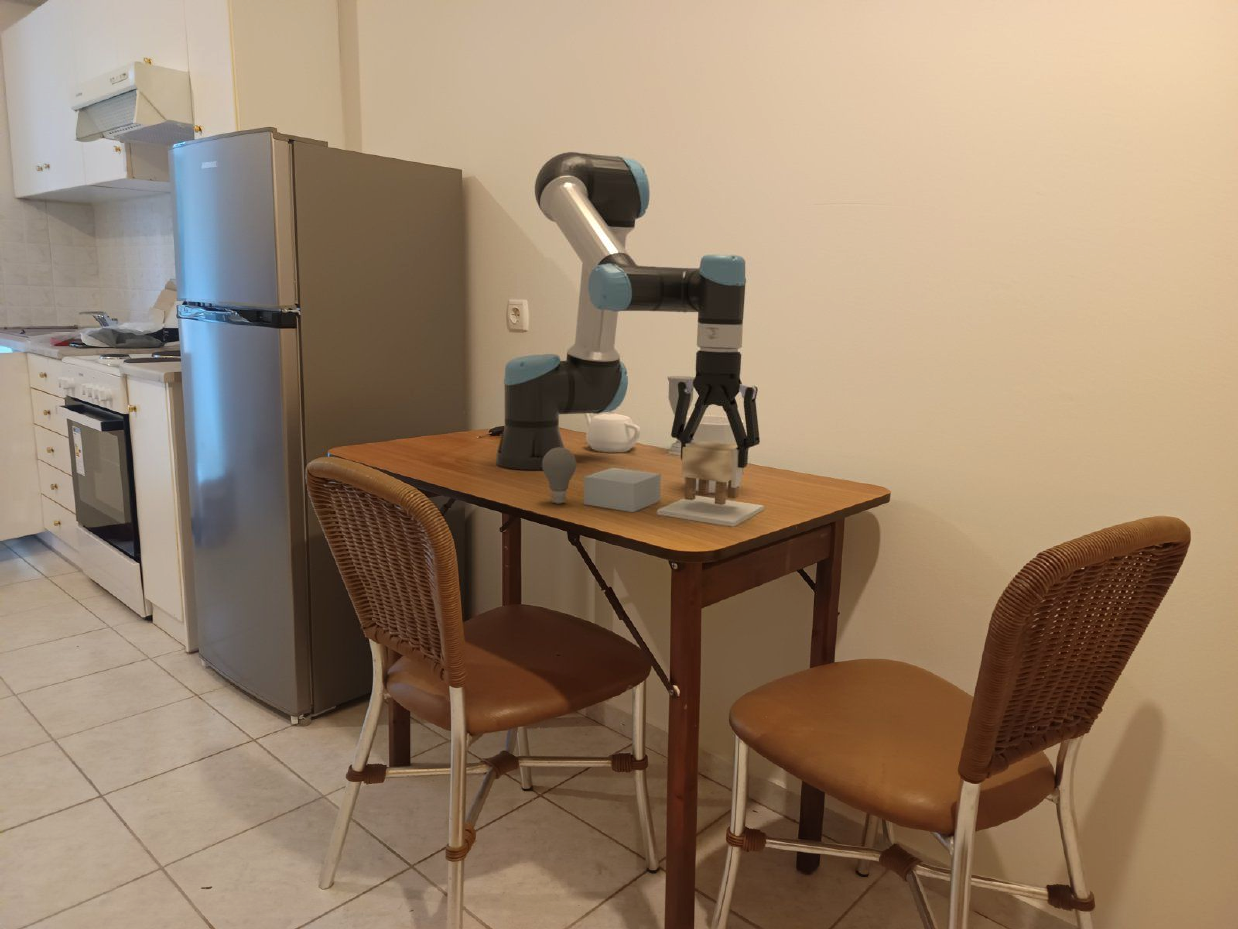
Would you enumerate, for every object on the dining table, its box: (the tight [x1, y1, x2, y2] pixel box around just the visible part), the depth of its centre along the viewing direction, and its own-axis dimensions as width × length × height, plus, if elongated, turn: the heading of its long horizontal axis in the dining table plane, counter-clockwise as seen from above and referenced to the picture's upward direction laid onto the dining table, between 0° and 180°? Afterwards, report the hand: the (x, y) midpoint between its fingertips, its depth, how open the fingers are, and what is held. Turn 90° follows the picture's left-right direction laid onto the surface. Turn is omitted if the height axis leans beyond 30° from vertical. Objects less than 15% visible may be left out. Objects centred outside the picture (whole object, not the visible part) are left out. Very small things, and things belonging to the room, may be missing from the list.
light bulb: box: [542, 447, 577, 505], centre depth 154 cm, size 6×6×10 cm
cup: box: [684, 414, 745, 494], centre depth 168 cm, size 12×12×14 cm
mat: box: [656, 495, 765, 528], centre depth 151 cm, size 14×14×1 cm
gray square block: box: [583, 467, 662, 513], centre depth 156 cm, size 10×10×5 cm
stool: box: [681, 441, 745, 505], centre depth 150 cm, size 8×8×9 cm
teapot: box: [583, 409, 642, 453], centre depth 210 cm, size 20×12×10 cm, turn 43°
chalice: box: [666, 375, 695, 456], centre depth 206 cm, size 7×7×18 cm
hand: (712, 482), depth 150 cm, fingers closed on stool, 8 cm apart
